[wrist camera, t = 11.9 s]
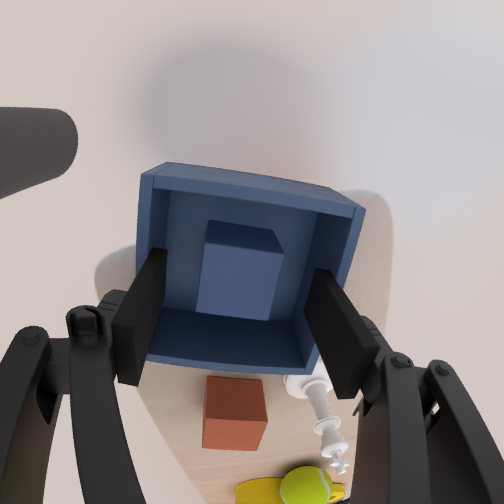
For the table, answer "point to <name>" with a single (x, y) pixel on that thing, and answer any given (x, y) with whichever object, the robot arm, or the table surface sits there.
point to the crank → (270, 492)
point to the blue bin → (249, 214)
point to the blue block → (239, 271)
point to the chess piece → (320, 412)
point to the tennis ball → (306, 486)
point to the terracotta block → (233, 414)
